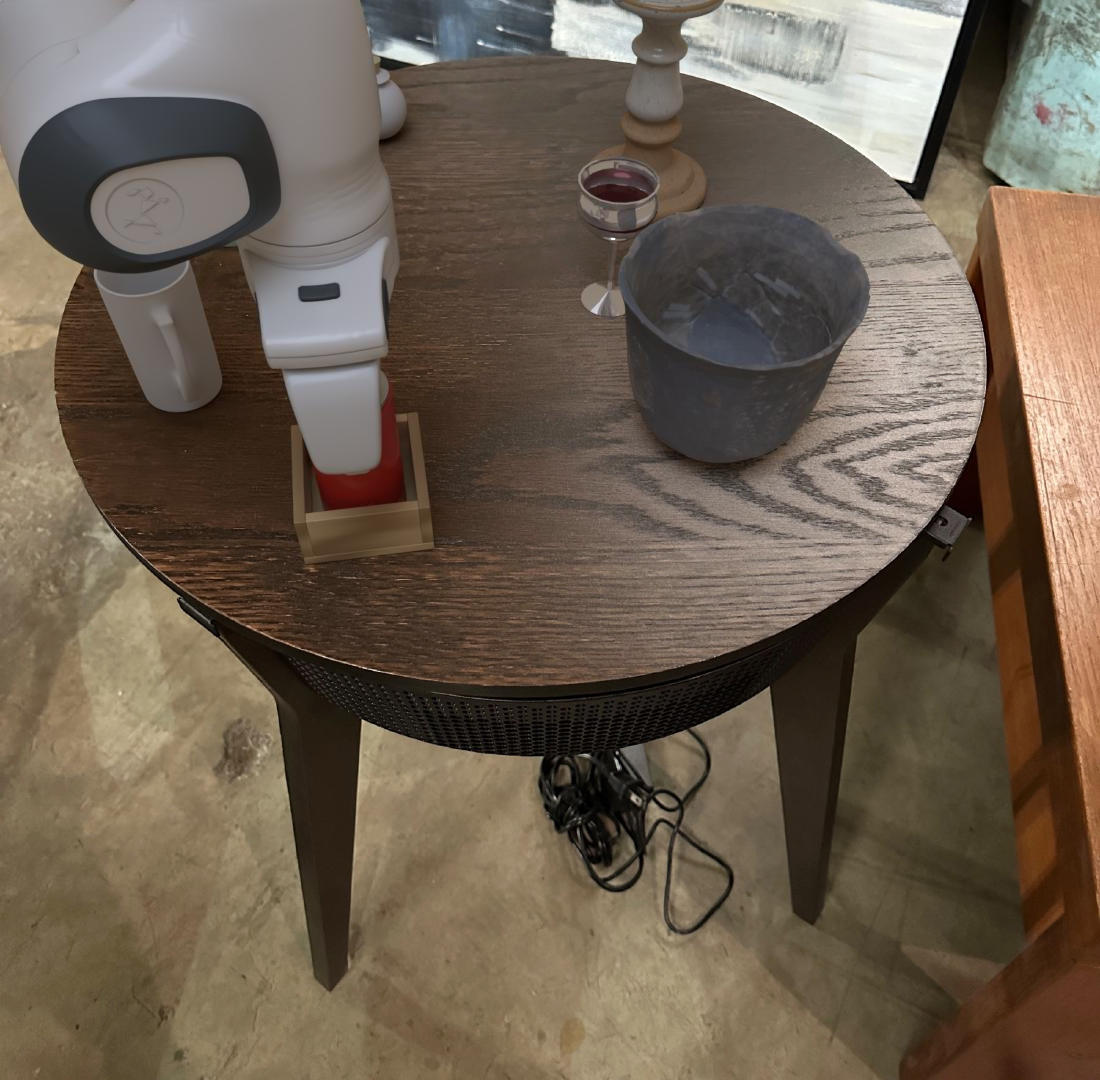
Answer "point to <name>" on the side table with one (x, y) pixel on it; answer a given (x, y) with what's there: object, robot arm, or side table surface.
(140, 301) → the mug
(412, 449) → the holder
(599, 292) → the wineglass
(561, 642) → the side table surface
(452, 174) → the side table surface
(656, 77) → the candle holder
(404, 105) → the ornament
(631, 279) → the dark grey metal pot
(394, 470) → the can
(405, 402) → the side table surface
